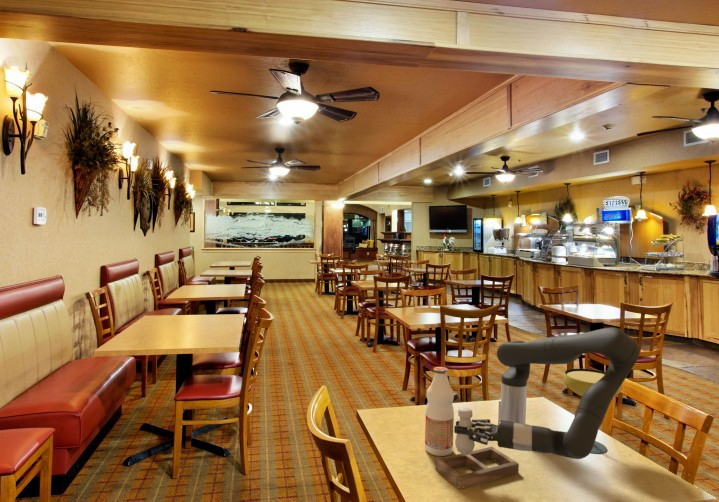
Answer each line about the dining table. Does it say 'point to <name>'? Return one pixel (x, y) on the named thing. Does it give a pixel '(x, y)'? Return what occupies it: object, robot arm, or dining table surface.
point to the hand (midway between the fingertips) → (455, 426)
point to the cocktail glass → (579, 384)
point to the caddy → (477, 467)
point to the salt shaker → (463, 440)
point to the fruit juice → (439, 415)
